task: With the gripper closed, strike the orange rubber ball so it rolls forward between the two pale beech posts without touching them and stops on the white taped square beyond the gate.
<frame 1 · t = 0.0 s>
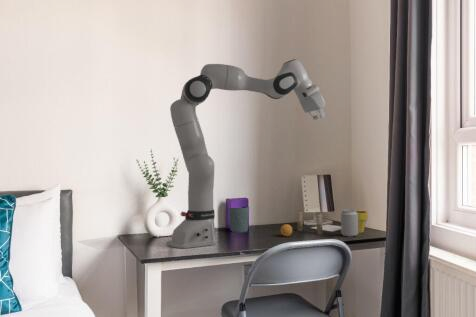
hand: (319, 118, 216), 54 cm above the table, tool tilted 30°, fingers open, 8 cm apart
can: (349, 236, 216), on the table
ball: (286, 230, 217), on the table
dark grey cylinder: (239, 231, 234), on the table
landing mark: (329, 228, 237), on the table
left post: (300, 230, 232), on the table
right post: (319, 233, 223), on the table
plant pot: (356, 232, 226), on the table
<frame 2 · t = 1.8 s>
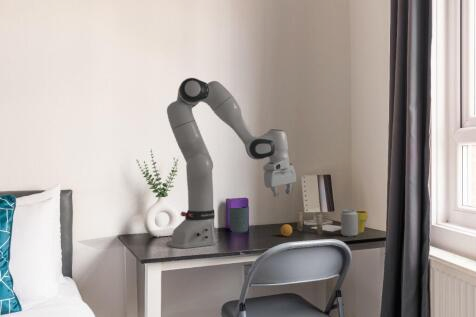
hand: (282, 195, 213), 20 cm above the table, tool pointing down, fingers open, 8 cm apart
nothing on the table moved.
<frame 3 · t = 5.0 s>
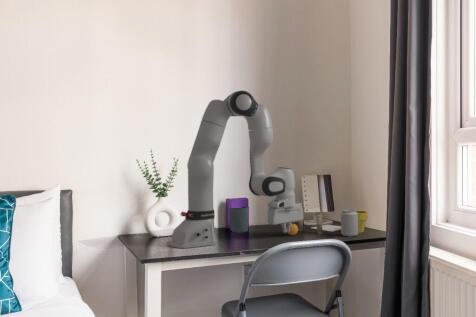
hand: (286, 232, 217), 2 cm above the table, tool pointing down, fingers closed
ball: (292, 229, 220), on the table, touching gripper
everything else where it was.
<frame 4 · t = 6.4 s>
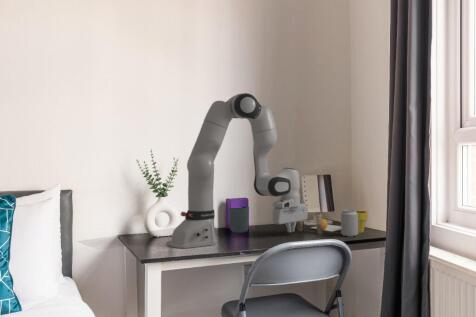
hand: (290, 231, 219), 2 cm above the table, tool pointing down, fingers closed
ball: (321, 224, 233), on the table
everything else where it was.
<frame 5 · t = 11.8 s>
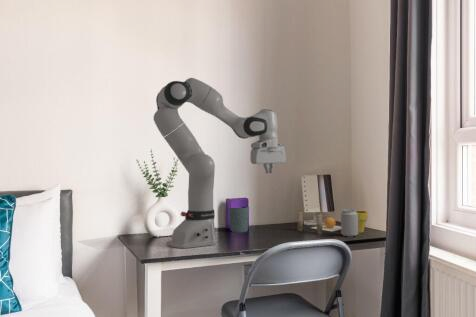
hand: (269, 173, 222), 29 cm above the table, tool pointing down, fingers closed
ball: (329, 222, 237), on the table
everything else where it was.
at the end: ball 0.5 cm from the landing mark (horizontally); ball never touched left post; ball never touched right post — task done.
